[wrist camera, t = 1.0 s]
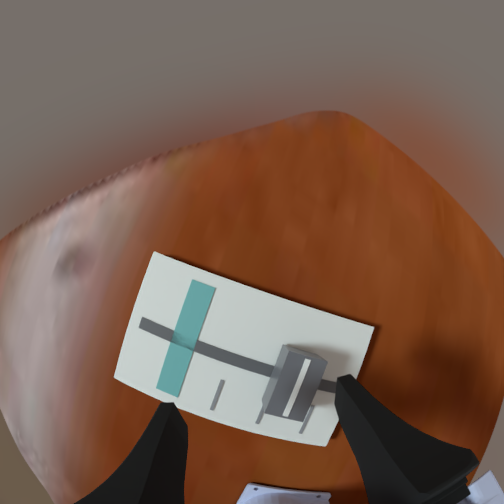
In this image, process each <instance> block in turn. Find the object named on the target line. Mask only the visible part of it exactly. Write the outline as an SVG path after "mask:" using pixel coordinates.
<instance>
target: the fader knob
mask: <svg viewBox="0 0 504 504" xmlns="http://www.w3.org/2000/svg"><path fill="white" fill-rule="evenodd" d="M327 363H328V361H326V360H325V359H323V358H322V357H321V356H319V355H318V354H315V353H311V352H308V351H304V350H301V349H297V348H294V347H290V346H287V345H284V344H283V345H282V348H281V350H280V353H279V356H278V358H277V361H276V364H275V366H274V369H273V372H272V374H271V377H270V379H269V382H268V385H267V387H266V390H265V392H264V395H263V397H262V404H263V409H264V413H265V414H269V415H273V416H277V417H281V418H286V419H290V420H295V421H300V422H303V421H304V419H305V417H306V415H307V412H308V410H309V408H310V406H311V403H312V401H313V399H314V396H315V394H316V391H317V389H318V386H319V384H320V382H321V379H322V376H323V374H324V371H325V369H326V366H327Z"/></svg>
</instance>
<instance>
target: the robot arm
mask: <svg viewBox="0 0 504 504" xmlns="http://www.w3.org/2000/svg"><path fill="white" fill-rule="evenodd" d="M334 405H335V408H336V412H337V415H338V418H339V421H340V424H341V426H342V428H343V431H344V433H345V435H346V437H347V440H348V442H349V444H350V446H351V448H352V451H353V453H354V455H355V457H356V460H357V462H358V465H359V468H360V471H361V475H362V478H363V481H364V485H365V489H366V492H367V497H368V501H369V504H504V493H503V491H502V489H501V487H500V485H499V483H498V482H497V480H496V478H495V477H494V475H493V473H492V471H491V470H489V471H487V472H486V473H485V474H483V475H482V476H481V477H480V478H478V479H477V480H476V481H475V482H473V483H472V484H471V485H469V486H468V487H467V486H466V484H465V483H467V482H468V480H467V478H466V477H465V476H467V475H468V474H469V473H470V472H471V471H472V470H474V469H475V468H476V467H477V466H478V465H479V461H478V459H477V458H476V456H475V454H474V453H473V452H472V451H471V450H470V449H466V448H462V447H459V446H455V445H452V444H449V443H446V442H443V441H441V440H438V439H436V438H434V437H432V436H430V435H427V434H425V433H423V432H421V431H420V430H418V429H416V428H414V427H413V426H411V425H409V424H408V423H406V422H405V421H403V420H402V419H400V418H399V417H397V416H396V415H395V414H393V413H392V412H391V411H390V410H388V409H387V408H386V407H385V406H383V405H382V404H381V403H380V402H379V401H378V400H377V399H375V398H374V397H373V396H372V395H371V394H370V393H369V392H368V391H367V390H366V389H365V388H364V387H363V386H362V385H361V384H360V383H359V382H358V381H357V380H356V379H355V378H354V377H353V376H352V375H351V374H347V375H344V376H340V377H337V382H336V392H335V401H334ZM187 450H188V426H187V424H186V423H185V421H184V419H183V418H182V416H181V414H180V413H179V411H178V409H177V407H176V405H175V404H174V402H163V403H160V405H159V406H158V408H157V410H156V412H155V414H154V416H153V417H152V419H151V421H150V423H149V424H148V426H147V428H146V429H145V431H144V433H143V434H142V436H141V438H140V439H139V441H138V442H137V444H136V445H135V447H134V448H133V449H132V451H131V452H130V454H129V455H128V456H127V458H126V459H125V460H124V461H123V463H122V464H121V465H120V466H119V467H118V468H117V470H116V471H115V472H114V473H113V474H112V475H111V476H110V477H109V478H108V479H107V480H106V481H105V482H103V483H102V484H101V485H100V486H99V487H97V488H96V489H95V490H94V491H92V492H91V493H90V494H88V495H87V496H85V497H84V498H82V499H81V500H79V501H77V502H76V503H74V504H184V480H185V470H186V460H187ZM255 488H257V489H255ZM318 495H319V496H318ZM330 497H331V494H330V493H328V492H311V491H300V490H291V489H284V488H277V487H270V486H264V485H259V484H254V483H249V484H247V485H246V487H245V489H244V491H243V493H242V495H241V496H240V498H239V500H238V502H237V503H236V504H330V503H329V501H328V500H329V499H330Z"/></svg>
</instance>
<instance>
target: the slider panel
mask: <svg viewBox="0 0 504 504" xmlns="http://www.w3.org/2000/svg"><path fill="white" fill-rule="evenodd" d="M373 330H374V327H372V326H369V325H365V324H362V323H359V322H355V321H352V320H349V319H346V318H342V317H339V316H336V315H333V314H330V313H327V312H323V311H320V310H317V309H314V308H311V307H308V306H305V305H302V304H299V303H296V302H293V301H290V300H287V299H284V298H281V297H278V296H275V295H272V294H269V293H266V292H263V291H260V290H257V289H254V288H252V287H249V286H246V285H243V284H240V283H237V282H235V281H232V280H229V279H226V278H223V277H221V276H218V275H215V274H212V273H210V272H207V271H204V270H201V269H199V268H196V267H193V266H191V265H188V264H185V263H183V262H180V261H177V260H175V259H172V258H169V257H167V256H164V255H162V254H159V253H156V252H154V253H153V255H152V258H151V260H150V263H149V266H148V268H147V271H146V274H145V277H144V279H143V282H142V285H141V288H140V291H139V294H138V297H137V300H136V303H135V306H134V309H133V312H132V315H131V318H130V321H129V325H128V328H127V331H126V335H125V338H124V341H123V345H122V348H121V352H120V356H119V359H118V363H117V367H116V371H115V375H114V378H116V379H117V380H119V381H121V382H123V383H125V384H127V385H129V386H131V387H133V388H135V389H137V390H139V391H141V392H143V393H145V394H147V395H150V396H152V397H154V398H156V399H159V400H161V401H163V402H174V404H175V405H176V407H177V408H180V409H183V410H185V411H188V412H190V413H193V414H196V415H198V416H201V417H204V418H207V419H210V420H213V421H216V422H219V423H222V424H225V425H229V426H232V427H235V428H239V429H242V430H246V431H250V432H253V433H257V434H261V435H266V436H270V437H274V438H279V439H284V440H289V441H294V442H299V443H305V444H311V445H318V446H326V445H327V443H328V441H329V439H330V437H331V435H332V433H333V431H334V429H335V427H336V425H337V423H338V420H339V418H338V415H337V412H336V408H335V405H334V401H335V392H336V382H337V377H340V376H344V375H347V374H351V375H352V376H353V377H354V378H355V379H356V378H357V376H358V373H359V371H360V368H361V365H362V362H363V360H364V357H365V354H366V351H367V348H368V345H369V342H370V339H371V336H372V333H373ZM283 344H284V345H287V346H290V347H294V348H297V349H301V350H304V351H308V352H311V353H315V354H318V355H319V356H321V357H322V358H323V359H325V360H326V361H328V363H327V366H326V369H325V371H324V374H323V376H322V379H321V382H320V384H319V386H318V389H317V391H316V394H315V396H314V399H313V401H312V403H311V406H310V408H309V410H308V412H307V415H306V417H305V419H304V421H303V422H300V421H295V420H290V419H286V418H281V417H277V416H273V415H269V414H265V413H264V409H263V404H262V397H263V395H264V392H265V390H266V387H267V385H268V382H269V379H270V377H271V374H272V372H273V369H274V366H275V364H276V361H277V358H278V356H279V353H280V350H281V348H282V345H283Z"/></svg>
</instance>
